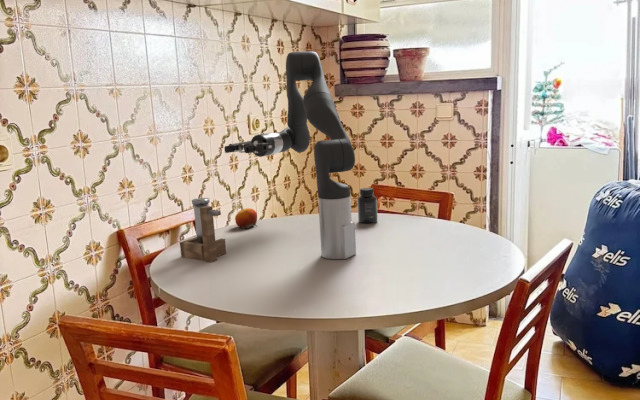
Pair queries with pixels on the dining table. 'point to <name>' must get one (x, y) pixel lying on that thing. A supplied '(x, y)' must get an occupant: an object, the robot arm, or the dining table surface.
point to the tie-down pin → (197, 204)
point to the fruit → (246, 218)
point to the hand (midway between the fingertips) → (235, 149)
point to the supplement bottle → (367, 206)
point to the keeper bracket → (205, 239)
